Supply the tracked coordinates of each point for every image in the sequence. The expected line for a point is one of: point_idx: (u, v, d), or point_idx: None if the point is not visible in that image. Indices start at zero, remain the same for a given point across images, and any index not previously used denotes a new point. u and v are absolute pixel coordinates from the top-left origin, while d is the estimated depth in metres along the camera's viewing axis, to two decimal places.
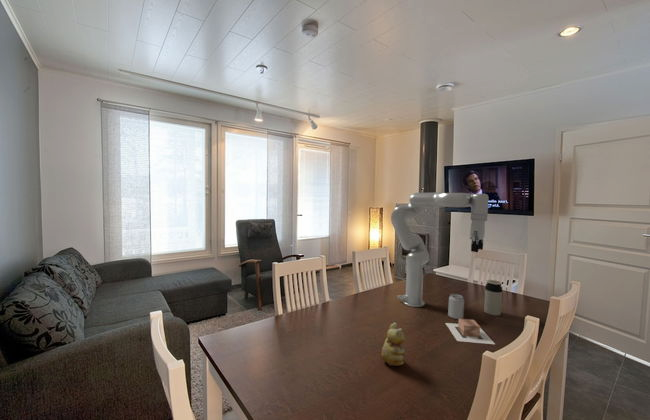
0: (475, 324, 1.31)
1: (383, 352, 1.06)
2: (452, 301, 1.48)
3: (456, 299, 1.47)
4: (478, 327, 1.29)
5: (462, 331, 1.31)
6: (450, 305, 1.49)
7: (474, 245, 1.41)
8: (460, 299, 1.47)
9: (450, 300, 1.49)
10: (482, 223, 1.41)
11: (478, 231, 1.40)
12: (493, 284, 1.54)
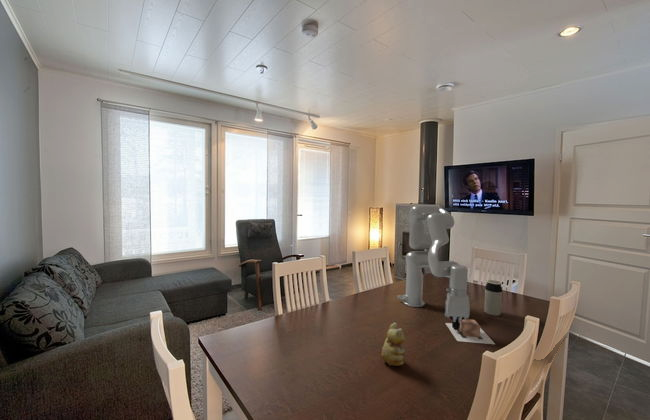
0: (475, 324, 1.31)
1: (383, 352, 1.06)
2: None
3: None
4: (478, 327, 1.29)
5: (462, 331, 1.31)
6: None
7: None
8: None
9: None
10: None
11: None
12: (493, 284, 1.54)
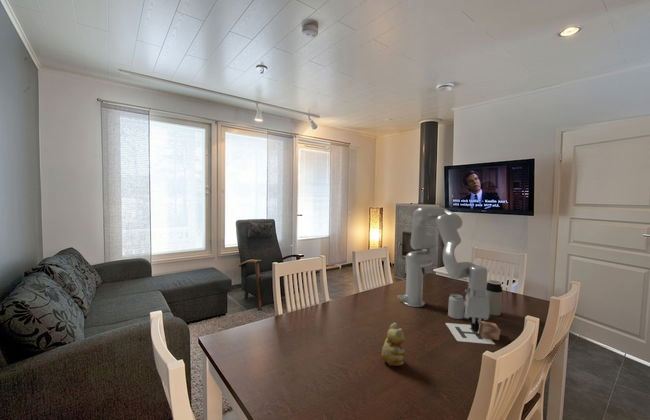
0: (496, 327, 1.29)
1: (383, 352, 1.06)
2: (452, 301, 1.48)
3: (456, 299, 1.47)
4: (498, 331, 1.27)
5: (481, 332, 1.30)
6: (450, 305, 1.49)
7: None
8: (460, 299, 1.47)
9: (450, 300, 1.49)
10: None
11: None
12: (493, 284, 1.54)
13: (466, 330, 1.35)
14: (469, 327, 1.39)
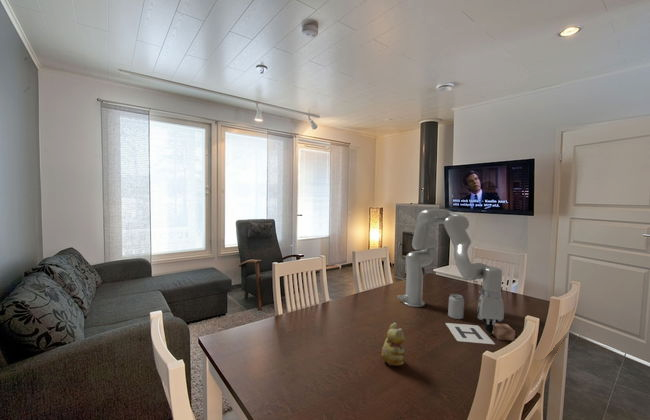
0: (510, 329, 1.28)
1: (383, 352, 1.06)
2: (452, 301, 1.48)
3: (456, 299, 1.47)
4: (513, 332, 1.27)
5: (496, 336, 1.29)
6: (450, 305, 1.49)
7: None
8: (460, 299, 1.47)
9: (450, 300, 1.49)
10: None
11: None
12: None
13: (466, 330, 1.35)
14: (469, 327, 1.39)
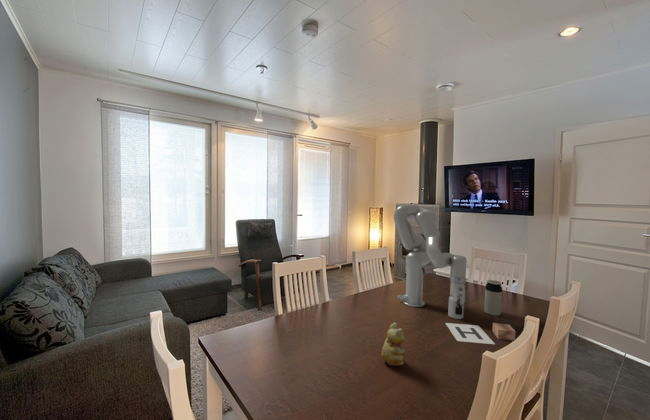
0: (510, 329, 1.28)
1: (383, 352, 1.06)
2: (452, 301, 1.48)
3: None
4: (514, 332, 1.26)
5: (496, 335, 1.29)
6: (450, 305, 1.49)
7: None
8: None
9: (450, 300, 1.49)
10: (451, 282, 1.52)
11: None
12: (493, 284, 1.54)
13: (466, 330, 1.35)
14: (469, 327, 1.39)
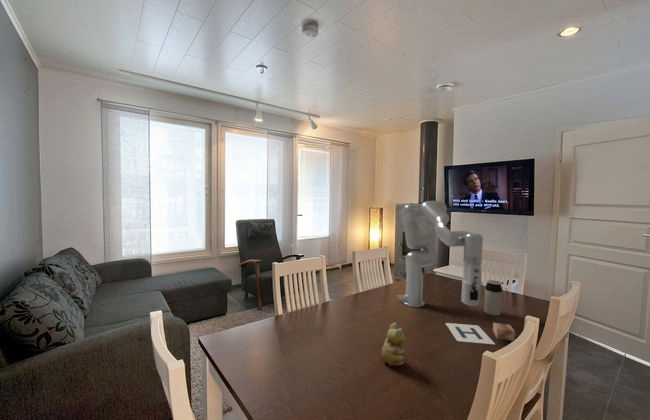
0: (510, 329, 1.28)
1: (383, 352, 1.06)
2: (466, 285, 1.30)
3: None
4: (513, 332, 1.26)
5: (496, 335, 1.30)
6: (464, 290, 1.31)
7: None
8: None
9: (464, 284, 1.31)
10: (464, 263, 1.34)
11: None
12: (493, 284, 1.54)
13: (466, 330, 1.35)
14: (469, 327, 1.39)
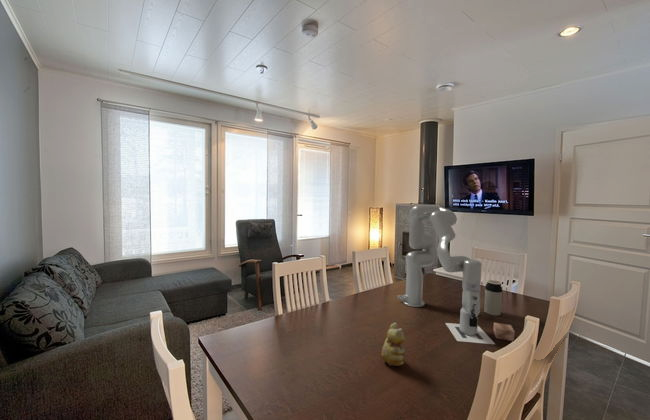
0: (510, 329, 1.28)
1: (383, 352, 1.06)
2: (464, 314, 1.31)
3: (469, 312, 1.30)
4: (513, 332, 1.26)
5: (495, 335, 1.30)
6: (462, 319, 1.32)
7: None
8: None
9: (462, 313, 1.32)
10: (463, 289, 1.35)
11: None
12: (493, 284, 1.54)
13: None
14: None
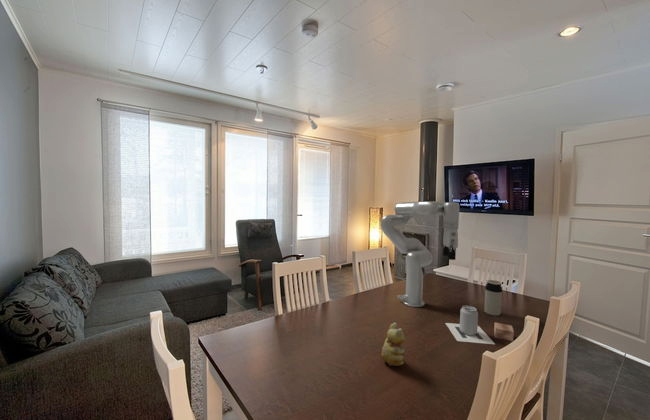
0: (510, 329, 1.28)
1: (383, 352, 1.06)
2: (464, 314, 1.31)
3: (469, 312, 1.30)
4: (512, 332, 1.26)
5: (495, 334, 1.30)
6: (462, 319, 1.32)
7: None
8: (474, 312, 1.30)
9: (462, 313, 1.32)
10: (444, 229, 1.52)
11: None
12: (493, 284, 1.54)
13: None
14: None
